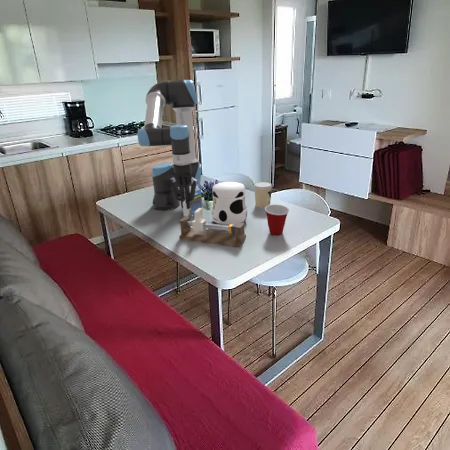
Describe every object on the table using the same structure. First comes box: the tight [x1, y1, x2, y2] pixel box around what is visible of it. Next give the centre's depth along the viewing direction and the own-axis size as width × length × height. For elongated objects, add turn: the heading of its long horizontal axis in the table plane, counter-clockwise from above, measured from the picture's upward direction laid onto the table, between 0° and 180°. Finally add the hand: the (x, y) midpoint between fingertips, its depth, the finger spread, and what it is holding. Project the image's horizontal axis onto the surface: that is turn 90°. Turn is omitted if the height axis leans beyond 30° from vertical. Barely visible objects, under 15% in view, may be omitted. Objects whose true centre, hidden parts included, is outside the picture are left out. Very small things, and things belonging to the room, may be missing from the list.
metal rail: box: [187, 220, 237, 234], centre depth 160 cm, size 26×4×4 cm, turn 69°
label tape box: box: [188, 189, 203, 217], centre depth 189 cm, size 9×4×12 cm, turn 144°
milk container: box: [211, 181, 248, 226], centre depth 175 cm, size 17×17×18 cm
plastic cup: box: [264, 204, 290, 237], centre depth 162 cm, size 11×11×12 cm
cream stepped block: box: [191, 207, 207, 231], centre depth 161 cm, size 5×5×9 cm
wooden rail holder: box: [178, 216, 247, 248], centre depth 160 cm, size 28×10×8 cm, turn 69°
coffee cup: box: [253, 181, 273, 209], centre depth 194 cm, size 9×9×12 cm
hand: (186, 215), depth 162 cm, fingers closed
